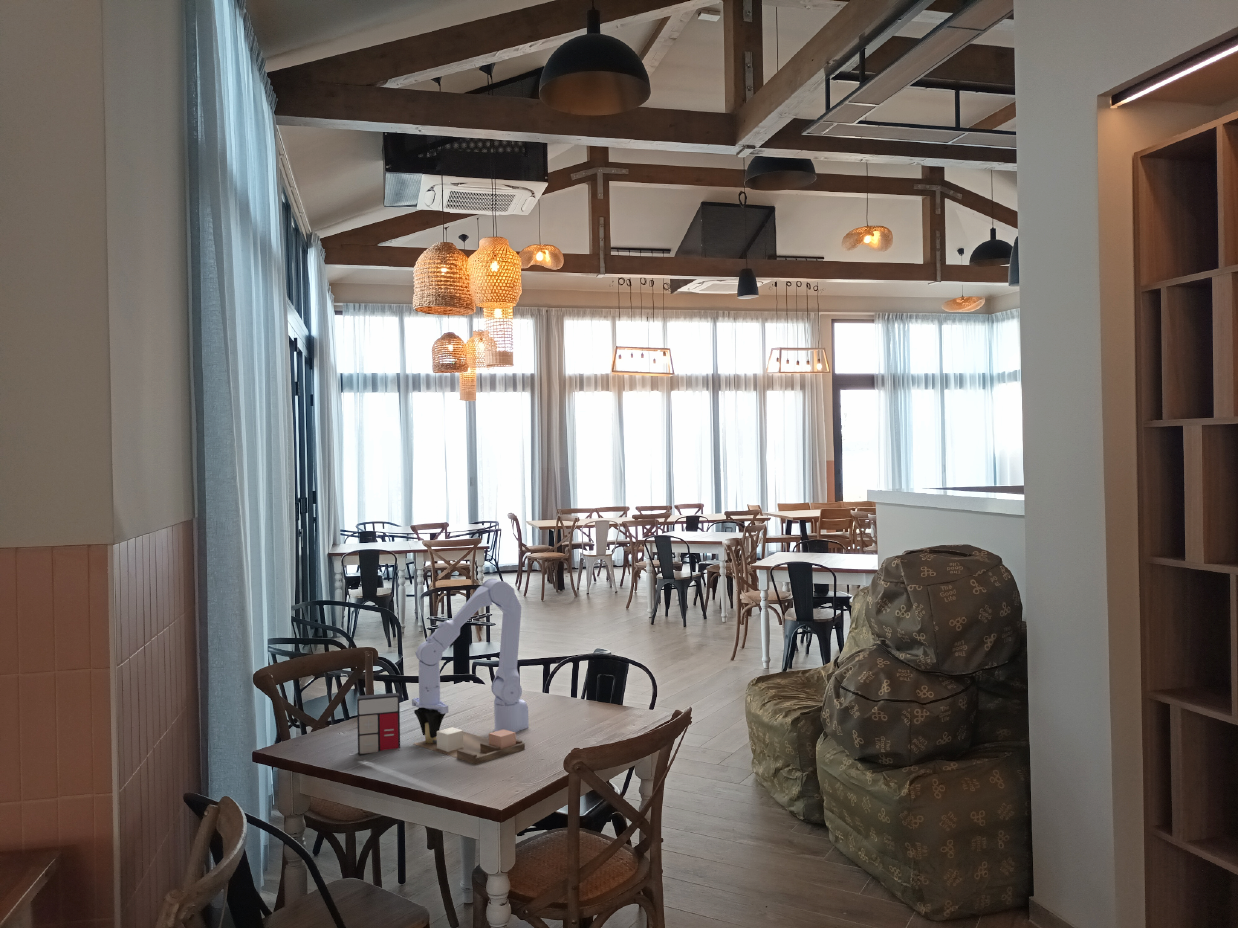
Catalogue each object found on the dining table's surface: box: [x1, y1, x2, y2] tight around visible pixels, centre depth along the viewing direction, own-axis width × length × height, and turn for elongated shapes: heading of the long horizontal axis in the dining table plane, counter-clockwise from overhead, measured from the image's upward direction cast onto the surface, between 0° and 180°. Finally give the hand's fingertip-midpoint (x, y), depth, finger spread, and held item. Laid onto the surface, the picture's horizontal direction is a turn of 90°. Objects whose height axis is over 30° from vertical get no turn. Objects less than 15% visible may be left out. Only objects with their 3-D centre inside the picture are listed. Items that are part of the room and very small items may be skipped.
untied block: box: [488, 729, 517, 749], centre depth 231 cm, size 5×5×4 cm
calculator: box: [356, 692, 401, 756], centre depth 236 cm, size 11×4×15 cm, turn 105°
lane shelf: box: [413, 731, 526, 765], centre depth 235 cm, size 16×28×3 cm, turn 47°
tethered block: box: [424, 722, 464, 752], centre depth 237 cm, size 5×13×5 cm, turn 46°
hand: (430, 735), depth 241 cm, fingers closed on tethered block, 3 cm apart
